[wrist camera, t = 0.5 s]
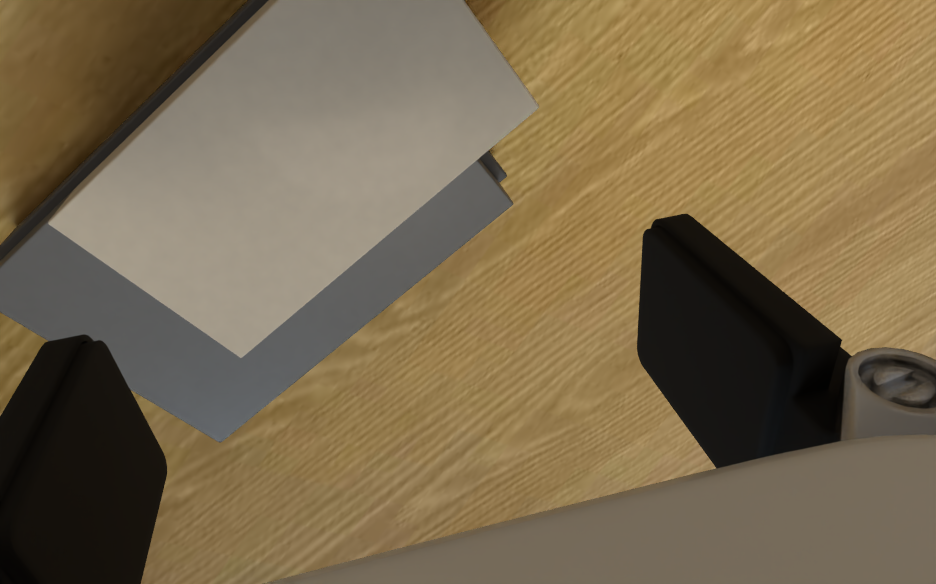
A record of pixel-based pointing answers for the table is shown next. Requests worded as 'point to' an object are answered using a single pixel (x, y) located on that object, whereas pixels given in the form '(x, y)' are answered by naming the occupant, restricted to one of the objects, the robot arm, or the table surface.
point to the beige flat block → (294, 156)
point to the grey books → (181, 343)
